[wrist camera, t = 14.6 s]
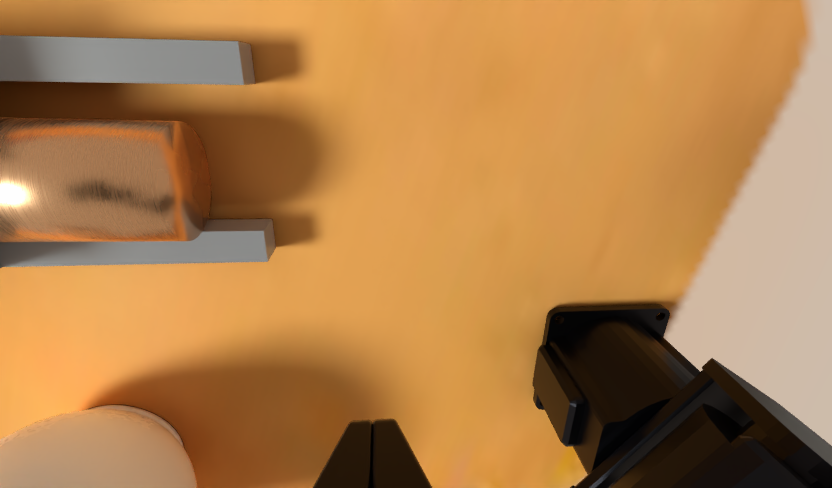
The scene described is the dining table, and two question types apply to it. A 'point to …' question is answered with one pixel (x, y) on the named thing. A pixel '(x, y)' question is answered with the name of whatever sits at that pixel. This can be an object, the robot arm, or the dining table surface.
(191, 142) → the pipe stub
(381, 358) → the dining table surface
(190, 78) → the gray forked cradle
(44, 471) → the lidded jar
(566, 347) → the robot arm
